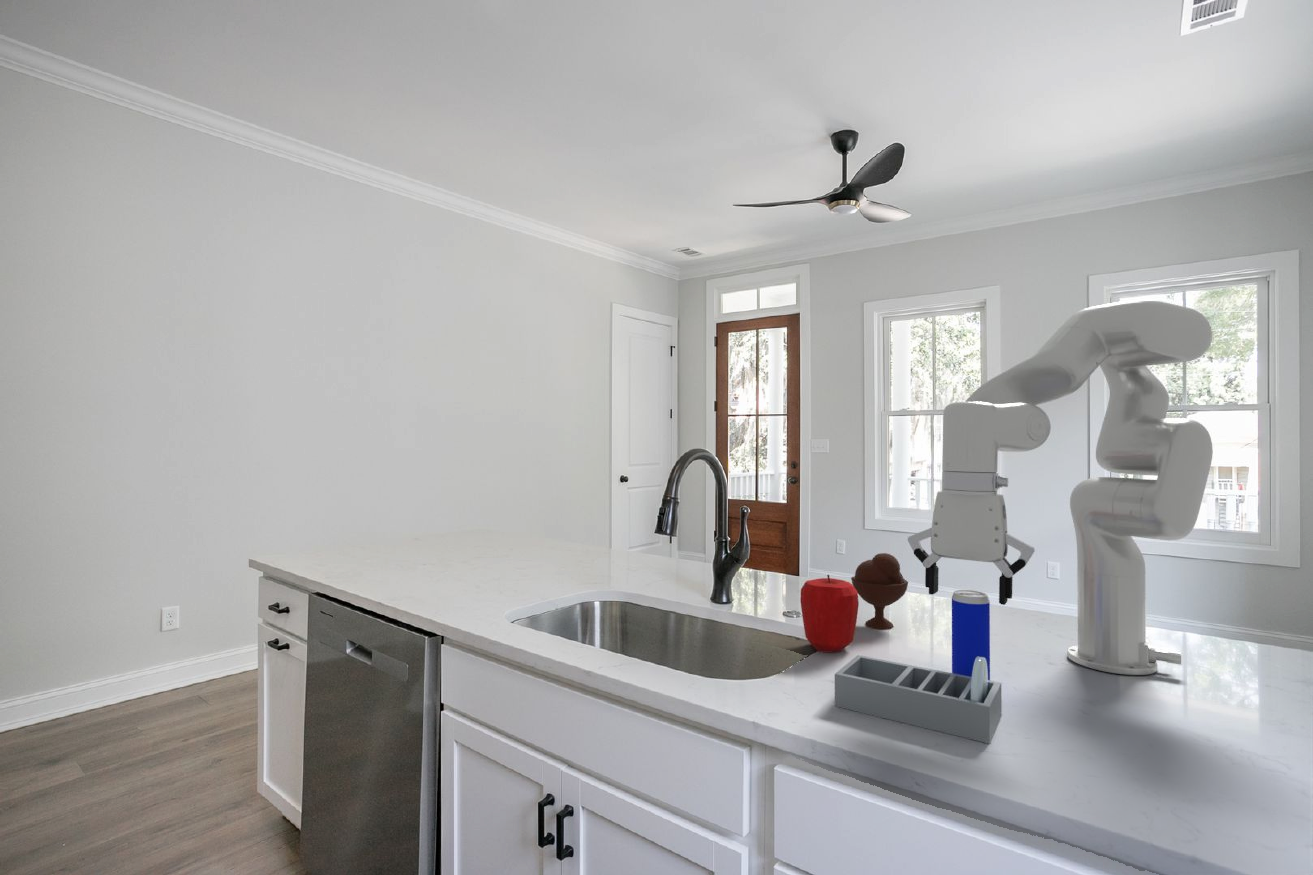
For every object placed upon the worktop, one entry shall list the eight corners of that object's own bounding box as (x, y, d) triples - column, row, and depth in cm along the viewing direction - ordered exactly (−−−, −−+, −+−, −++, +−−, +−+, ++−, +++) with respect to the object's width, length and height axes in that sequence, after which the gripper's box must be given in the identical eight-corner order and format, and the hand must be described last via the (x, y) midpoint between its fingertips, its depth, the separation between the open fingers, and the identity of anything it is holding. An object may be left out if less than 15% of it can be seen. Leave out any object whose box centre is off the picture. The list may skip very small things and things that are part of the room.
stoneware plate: (987, 708, 90) (987, 650, 90) (977, 729, 83) (977, 667, 83) (981, 707, 90) (981, 649, 90) (970, 727, 84) (970, 665, 84)
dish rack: (1001, 715, 90) (1001, 682, 90) (989, 743, 82) (989, 706, 82) (857, 684, 101) (857, 654, 101) (834, 705, 93) (834, 673, 93)
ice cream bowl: (898, 618, 138) (898, 548, 139) (914, 634, 127) (913, 557, 127) (847, 617, 140) (847, 547, 140) (858, 632, 128) (858, 557, 128)
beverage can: (987, 688, 99) (986, 590, 100) (992, 701, 95) (992, 598, 95) (950, 684, 101) (950, 588, 101) (953, 697, 96) (953, 595, 96)
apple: (857, 660, 112) (856, 582, 112) (797, 654, 116) (797, 577, 116) (860, 642, 122) (860, 570, 122) (805, 637, 126) (804, 567, 126)
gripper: (1037, 486, 96) (1036, 602, 96) (915, 480, 106) (913, 585, 106) (1032, 488, 90) (1030, 612, 90) (903, 481, 100) (901, 593, 100)
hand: (967, 597), depth 98 cm, fingers open, 9 cm apart
